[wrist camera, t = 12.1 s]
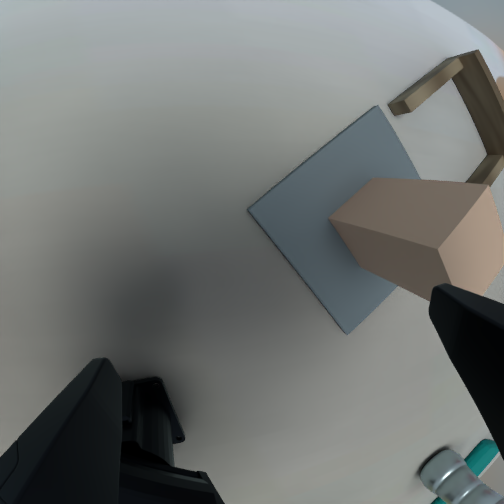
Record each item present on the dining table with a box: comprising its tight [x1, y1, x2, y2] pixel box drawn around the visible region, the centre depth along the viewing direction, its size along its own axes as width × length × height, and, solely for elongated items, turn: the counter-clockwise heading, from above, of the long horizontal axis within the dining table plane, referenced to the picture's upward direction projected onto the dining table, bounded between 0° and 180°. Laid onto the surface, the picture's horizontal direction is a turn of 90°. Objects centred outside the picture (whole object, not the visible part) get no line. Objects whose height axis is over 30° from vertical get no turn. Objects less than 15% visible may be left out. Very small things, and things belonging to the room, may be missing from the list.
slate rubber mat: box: [247, 105, 421, 335], centre depth 22 cm, size 12×12×1 cm
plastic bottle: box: [421, 450, 504, 504], centre depth 24 cm, size 6×7×20 cm
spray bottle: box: [431, 439, 499, 504], centre depth 39 cm, size 3×11×25 cm
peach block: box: [328, 178, 504, 301], centre depth 17 cm, size 4×4×10 cm
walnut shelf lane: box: [388, 49, 504, 187], centre depth 21 cm, size 10×11×4 cm
